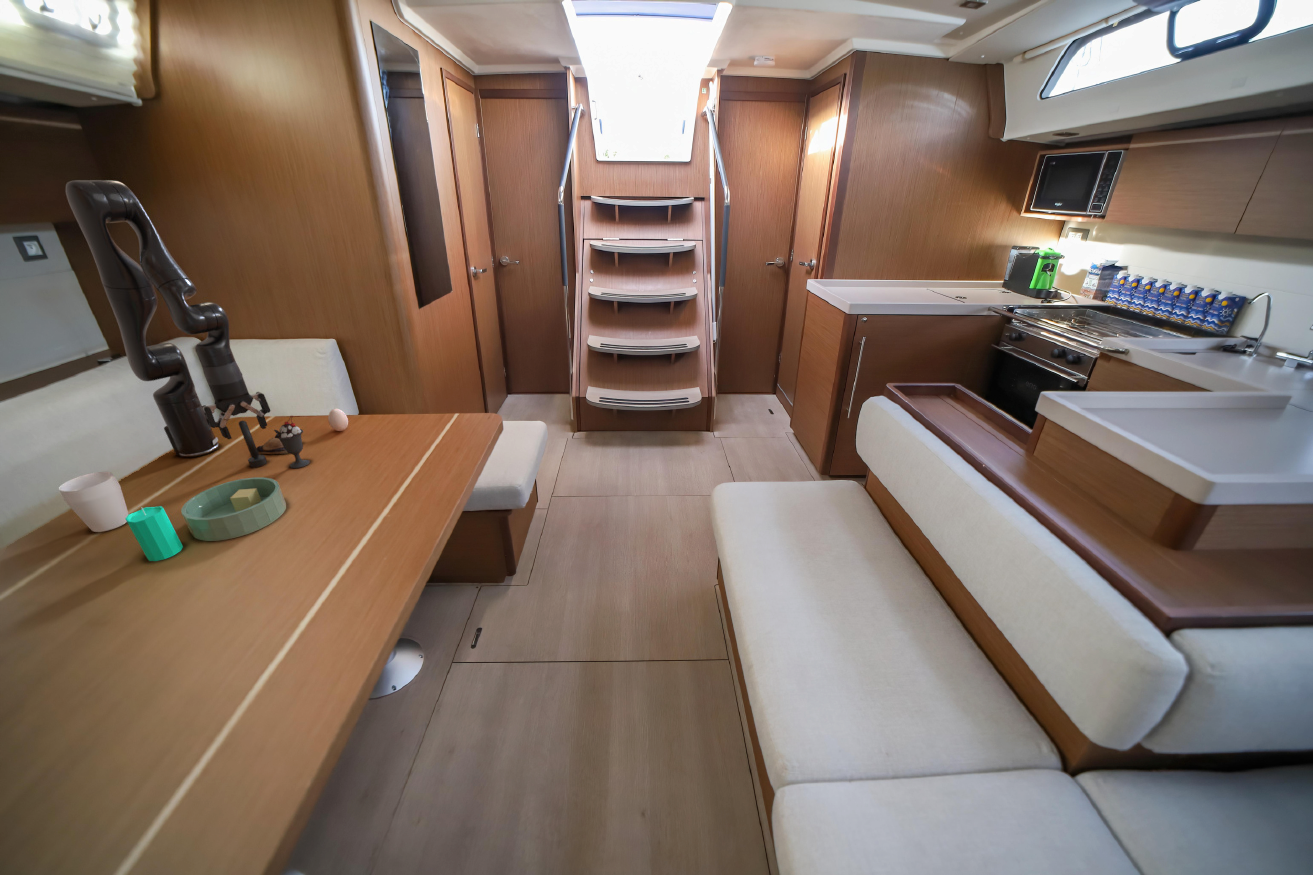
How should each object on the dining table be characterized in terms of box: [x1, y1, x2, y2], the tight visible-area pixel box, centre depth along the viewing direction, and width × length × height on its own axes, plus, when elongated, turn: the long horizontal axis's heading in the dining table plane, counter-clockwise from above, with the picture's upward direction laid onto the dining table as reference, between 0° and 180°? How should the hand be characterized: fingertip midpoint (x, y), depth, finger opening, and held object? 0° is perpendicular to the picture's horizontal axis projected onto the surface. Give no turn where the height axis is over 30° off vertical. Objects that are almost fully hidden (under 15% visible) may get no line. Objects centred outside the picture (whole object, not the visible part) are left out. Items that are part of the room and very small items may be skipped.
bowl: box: [180, 476, 287, 542], centre depth 122 cm, size 19×19×6 cm
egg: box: [327, 408, 349, 432], centre depth 166 cm, size 6×6×8 cm
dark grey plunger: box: [238, 420, 268, 468], centre depth 144 cm, size 4×4×14 cm
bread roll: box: [256, 437, 289, 455], centre depth 155 cm, size 11×8×4 cm
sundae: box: [273, 415, 310, 469], centre depth 144 cm, size 7×7×15 cm
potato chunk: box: [230, 488, 261, 511], centre depth 125 cm, size 4×4×4 cm
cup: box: [58, 471, 130, 533], centre depth 117 cm, size 9×9×12 cm
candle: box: [126, 505, 184, 562], centre depth 108 cm, size 6×6×12 cm
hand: (246, 433), depth 142 cm, fingers open, 8 cm apart
